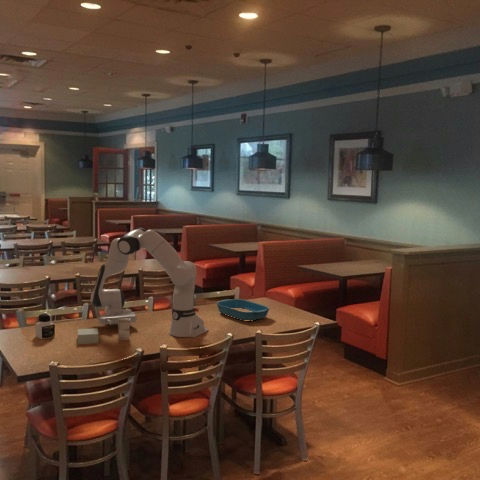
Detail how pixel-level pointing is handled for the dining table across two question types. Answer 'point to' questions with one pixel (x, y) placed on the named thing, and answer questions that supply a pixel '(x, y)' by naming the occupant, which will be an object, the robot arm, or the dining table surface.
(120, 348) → the dining table surface
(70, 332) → the dining table surface
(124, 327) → the ash block
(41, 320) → the medicine bottle
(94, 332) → the riser block
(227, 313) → the casserole dish
